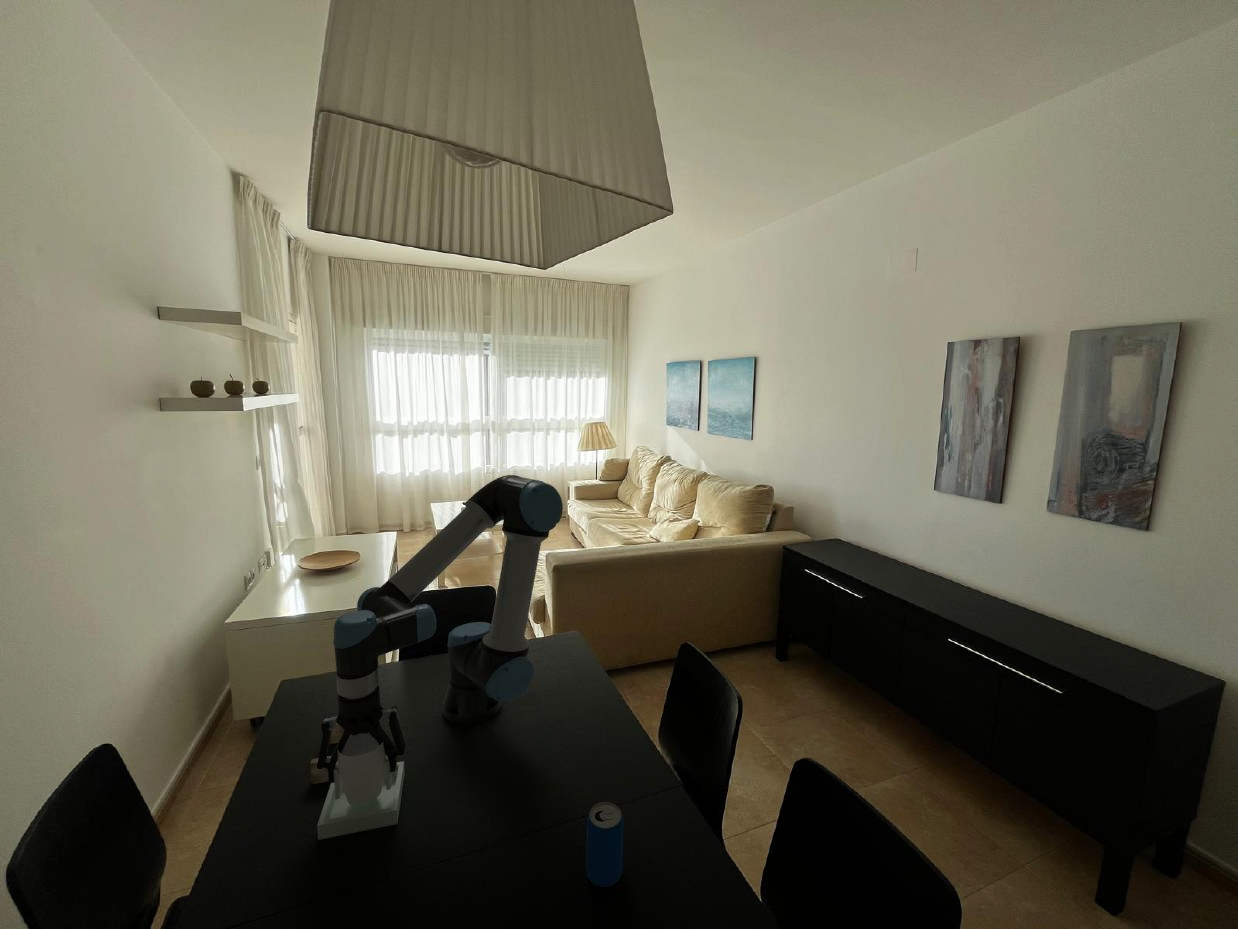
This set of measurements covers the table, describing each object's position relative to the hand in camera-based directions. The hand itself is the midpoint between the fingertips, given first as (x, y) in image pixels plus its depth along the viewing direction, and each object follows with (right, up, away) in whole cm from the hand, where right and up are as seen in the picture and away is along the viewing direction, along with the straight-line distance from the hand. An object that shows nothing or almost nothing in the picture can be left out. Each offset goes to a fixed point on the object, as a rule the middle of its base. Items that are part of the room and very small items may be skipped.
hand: (364, 789), depth 107 cm
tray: (0, -3, 0) cm, 3 cm away
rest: (-10, -1, +14) cm, 17 cm away
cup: (0, -1, 0) cm, 1 cm away
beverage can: (+50, -7, -13) cm, 52 cm away
